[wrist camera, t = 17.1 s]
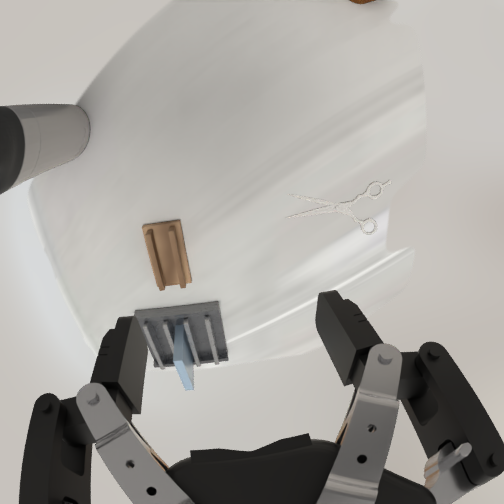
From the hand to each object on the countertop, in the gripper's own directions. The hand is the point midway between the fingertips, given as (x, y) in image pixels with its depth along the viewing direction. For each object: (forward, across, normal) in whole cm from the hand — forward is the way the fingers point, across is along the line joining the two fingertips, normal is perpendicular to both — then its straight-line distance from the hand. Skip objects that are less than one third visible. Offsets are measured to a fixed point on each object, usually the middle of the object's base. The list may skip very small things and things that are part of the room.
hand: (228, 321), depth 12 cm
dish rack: (+31, +9, +30) cm, 44 cm away
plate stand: (+31, +8, +12) cm, 35 cm away
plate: (+30, +9, +31) cm, 44 cm away
